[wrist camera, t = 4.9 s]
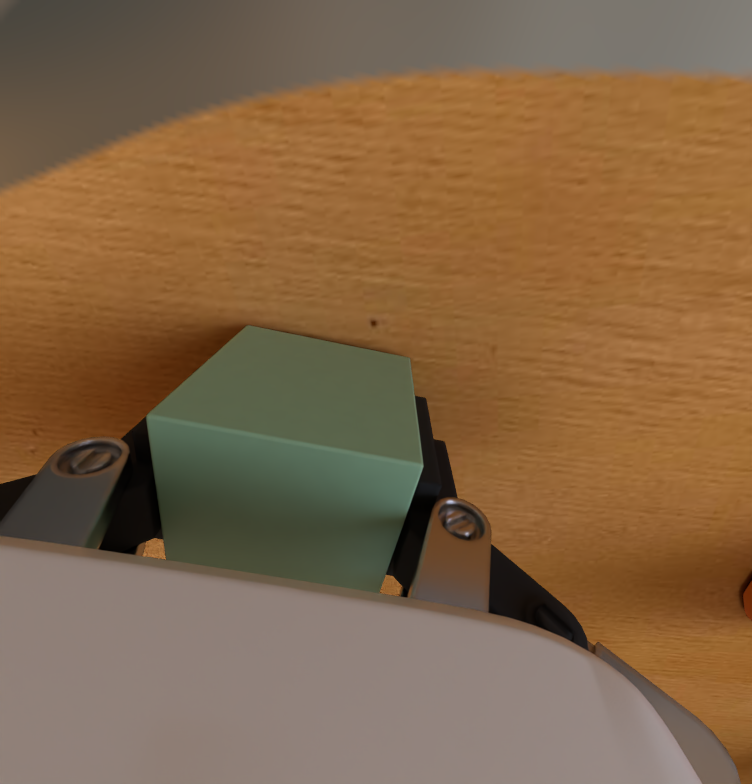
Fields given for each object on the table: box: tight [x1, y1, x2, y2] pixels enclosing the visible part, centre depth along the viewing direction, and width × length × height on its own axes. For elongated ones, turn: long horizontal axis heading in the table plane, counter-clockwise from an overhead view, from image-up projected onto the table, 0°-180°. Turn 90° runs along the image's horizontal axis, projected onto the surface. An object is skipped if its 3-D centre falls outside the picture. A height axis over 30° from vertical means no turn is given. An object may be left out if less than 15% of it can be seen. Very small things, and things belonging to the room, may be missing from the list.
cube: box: [146, 325, 424, 593], centre depth 10 cm, size 5×5×5 cm
